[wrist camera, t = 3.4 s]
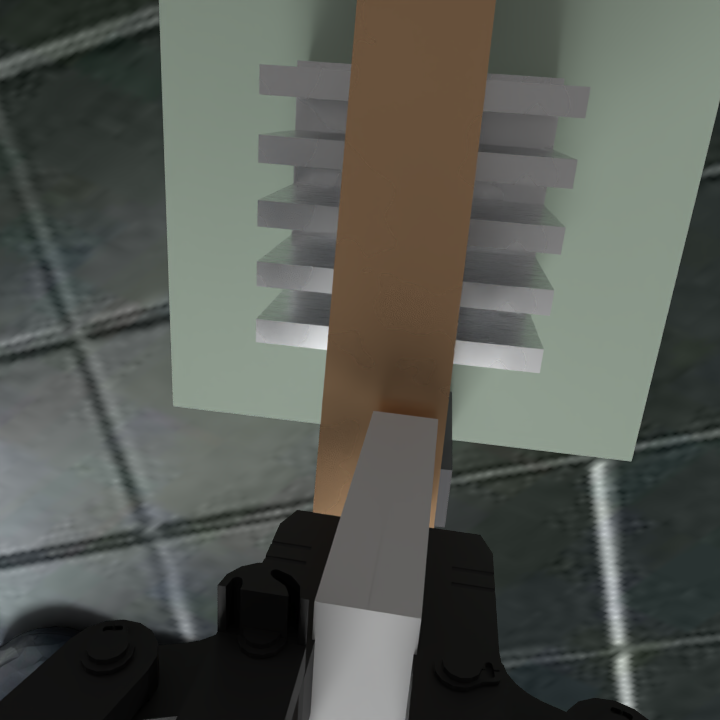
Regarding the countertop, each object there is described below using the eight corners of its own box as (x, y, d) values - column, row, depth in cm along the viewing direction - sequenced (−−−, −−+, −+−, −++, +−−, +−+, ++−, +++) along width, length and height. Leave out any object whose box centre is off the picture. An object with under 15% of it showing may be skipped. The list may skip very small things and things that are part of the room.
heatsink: (298, 299, 25) (255, 353, 19) (307, 63, 22) (259, 48, 16) (518, 321, 24) (537, 384, 18) (556, 80, 21) (593, 71, 16)
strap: (292, 513, 18) (282, 531, 17) (340, -88, 15) (332, -117, 14) (458, 535, 17) (460, 556, 16) (534, -79, 15) (543, -108, 14)
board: (184, 394, 28) (52, 535, 19) (170, -113, 22) (-42, -280, 12) (623, 446, 26) (717, 629, 17) (750, -88, 20) (1011, -258, 11)
